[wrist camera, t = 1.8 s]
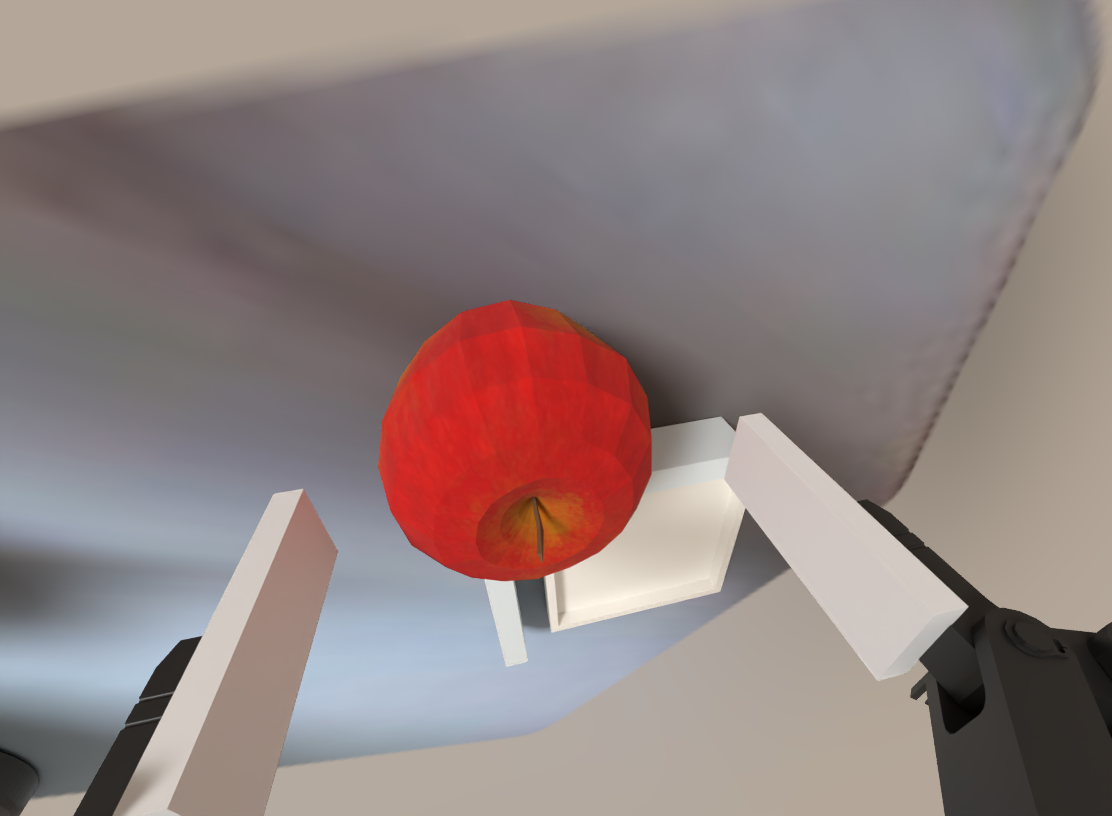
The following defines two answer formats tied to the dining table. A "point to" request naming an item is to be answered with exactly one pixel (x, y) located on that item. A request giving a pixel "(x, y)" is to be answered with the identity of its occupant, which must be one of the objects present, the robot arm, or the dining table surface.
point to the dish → (652, 557)
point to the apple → (515, 444)
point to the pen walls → (675, 463)
